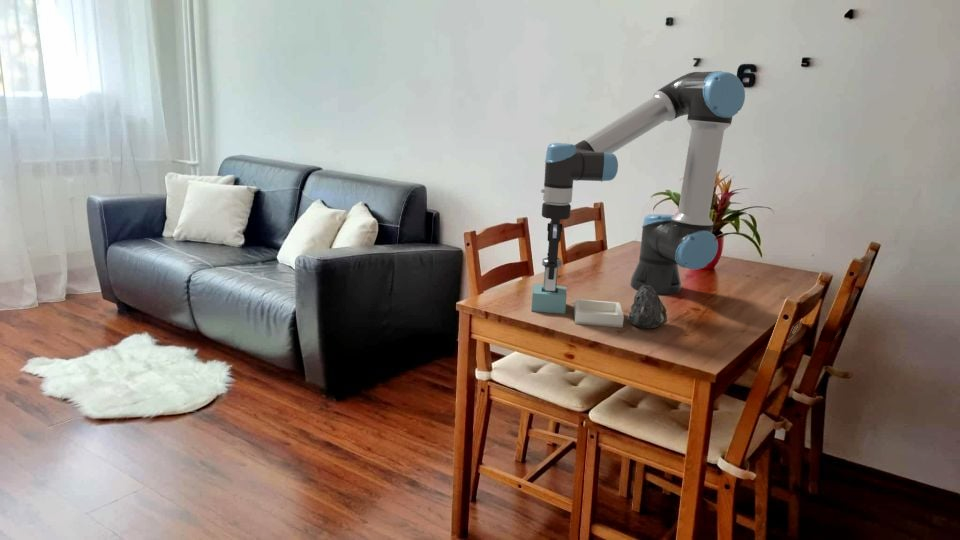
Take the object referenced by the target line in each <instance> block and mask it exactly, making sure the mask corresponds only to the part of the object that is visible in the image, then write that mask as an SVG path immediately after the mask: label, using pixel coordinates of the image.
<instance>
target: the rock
mask: <svg viewBox="0 0 960 540" xmlns="http://www.w3.org/2000/svg"><path fill="white" fill-rule="evenodd" d="M630 310H631V311H630V312H629V313H628V316H627V318H626V319H627V320H628V321H629V323H630V324H631V325H633V326H637V327H638V328H639V329H653V328H657V327H658V326H660V325H661V324H666V323H667V322H668V316H667V315H668V314H667V308H666V307H665V305H664V304H663V302H662V301H661V299H660V297H659V294H657V293H656V291H655V290H654V289H653V287H652V286H647V285H642V286H641V287H640V288H639V290H637V291H636V293H635V295H634V297H633V303H632V305H631V306H630Z"/></svg>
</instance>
